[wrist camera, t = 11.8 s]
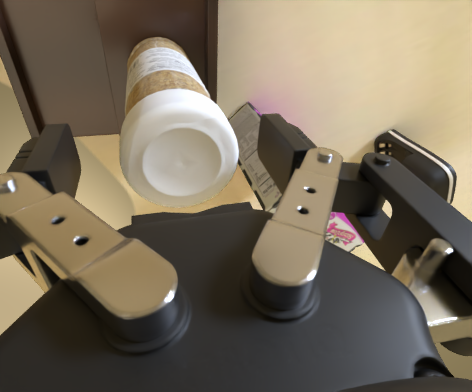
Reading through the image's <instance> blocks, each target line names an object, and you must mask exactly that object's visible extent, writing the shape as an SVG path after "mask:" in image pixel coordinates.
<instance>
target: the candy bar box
mask: <svg viewBox="0 0 472 392" xmlns="http://www.w3.org/2000/svg"><path fill="white" fill-rule="evenodd" d="M261 116H262V115H261V114H260V113H259V112H258V111H257V110H256V109H255V108H254V107H253V106H252V105H251V104H250V103H249V102H247V103H246V104H245V105H244V106H243V107H241V109H240V110H239V111H238V112H237V113H236V114H235V115H234V116H233V117H232V118H231V119H229V120H228V122H229V124H230V125H231V127H232V129H233V131H234V134H235V136H236V139H237V143H238V150H239V155H238V164H239V166H240V168H241V170H242V172H243V173H244V175H245V177H246V179H247V181H248V183H249V185H250V186H251V188H252V190H253V192H254V194H255V195H256V197H257V199H258V201H259V203H260V205H261V206H262V208H263V210H264V211H268V212H271V213H274V212H275V210H276V208H277V206H278V204H279V202H280V200H281V198H282V194H281V192H280V191H279V189H278V188H277V186H276V185H275V183H274V181H273V180H272V178H271V177H270V175H269V173H268V172H267V170H266V169H265V167H264V166H263V164H262V162H261V161H260V159H259V157H258V153H257V143H258V134H259V125H260V118H261ZM325 236H326V237H325V240H327V241H329V242H331V243H333V244H335V245H337V246H338V247H340V248H342V249H344V250H346V251H348V252H351V251H353V250H354V249H355V247H358V246H360V245H362V244H363V243H364V241H363V239H362V238H361V237H360V235H359V234H358V233H357V231H356V230H355V229H354V227H353V226H352V224H351V223H350V222H349V220H348V219H347V218H346V216H345V214H344V213H337V212H331V214H330V218H329V222H328V226H327V231H326V235H325Z"/></svg>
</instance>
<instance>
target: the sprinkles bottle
mask: <svg viewBox="0 0 472 392" xmlns="http://www.w3.org/2000/svg"><path fill="white" fill-rule="evenodd" d="M127 73H128V75H127V85H126V102H125V117H126V118H125V120H124V122H123V125H122V128H121V133H120V165H121V169H122V172H123V175H124V177H125V179H126V181H127V182H128V183H129V185H130V186H131V187H132V188H133V190H134V191H135V192H136V193H138V194H139V195H140V196H141V197H143V198H145V199H146V200H148V201H150V202H152V203H155V204H158V205H161V206H166V207H176V208H179V207H188V206H193V205H197V204H200V203H202V202H205V201H207V200H209V199H211V198H212V197H214V196H215V195H217V194H218V193H219V192H220V191H222V190H223V188H224V187H225V186H226V185H227V184H228V183H229V181H230V180H231V178H232V176H233V174H234V172H235V170H236V167H237V163H238V155H239V150H238V143H237V139H236V136H235V134H234V131H233V129H232V127H231V125H230V124H229V122H228V120H227V118H226V117H225V115H224V114H223V112H222V111H221V109H220V108H219V107H218V106H217V105H216V104H215V103H214V102H213V101H212V100H211V99H210V95H209V93H208V91H207V90H206V88H205V86H204V85H203V83H202V81H201V79H200V78H199V76H198V74H197V73H196V71H195V69H194V67H193V66H192V64H191V63H190V60H189V58H188V56H187V54H186V53H185V51H184V50H183V49H182V47H180V46H179V45H177V44H176V43H175V42H173V41H171V40H169V39H167V38H162V37H153V38H148V39H145V40H143V41H142V42H140V43H138V44H137V45H136V46H135V47H134V49H133V51H132V52H131V54H130V57H129V59H128V63H127Z"/></svg>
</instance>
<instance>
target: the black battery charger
mask: <svg viewBox="0 0 472 392" xmlns="http://www.w3.org/2000/svg"><path fill="white" fill-rule="evenodd" d="M375 153H381V154H385V155H388V156H391V157H393V158H394V159H396V160H397V161H399V162H400V163H401V164H402V165H403V166H405V167H406V168H407V169H408V170H409V171H411V172H412V173H413V174H414V175H415V176H417V177H418V178H419V179H420V180H421V181H423V182H424V183H425V184H426V185H427V186H429V187H430V188H431V189H432V190H433V191H435V192H436V193H437V194H438V195H439V196H441V197H442V198H443V199H444V200H446V201H447V202H448V203H449V204H451V203H452V201H453V198H454V193H455V187H456V180H457V176H456V172H455V170H454V169H453V168H452V166H451V165H450V164H448V163H447V162H446V161H444V160H443V159H441V158H440V157H438V156H437V155H435V154H434V153H432V152H430V151H429V150H427V149H425V148H424V147H422V146H420V145H419V144H417V143H415V142H413V141H412V140H410V139H408V138H407V137H405V136H403V135H402V134H400V133H399V132H397V131H396V130H394V129H393V130H389V131H387V132H386V133H384V134H382V135H381V136H379V137H378V138H377V139H376V141H375Z"/></svg>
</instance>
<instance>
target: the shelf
mask: <svg viewBox="0 0 472 392" xmlns="http://www.w3.org/2000/svg"><path fill="white" fill-rule="evenodd" d="M153 37H162V38H167V39H169V40H171V41H173V42H175V43H176V44H177V45H179V46H180V47H182V49H183V50H184V51H185V53H186V54H187V56H188V58H189V60H190V63H191V64H192V66H193V67H194V69H195V71H196V73H197V74H198V76H199V78H200V79H201V81H202V83H203V85H204V86H205V88H206V90H207V91H208V93H209V95H210V99H211V100H212V101H213V102H214V103H215V104H216V105H217V44H218V0H0V56H1V59H2V61H3V64H4V67H5V69H6V72H7V75H8V77H9V80H10V82H11V85H12V88H13V90H14V93H15V95H16V98H17V100H18V103H19V106H20V109H21V111H22V114H23V117H24V119H25V122H26V124H27V127H28V129H29V132H30V135H31V138H34V137H40V135H41V133H42V131H43V129H44V127H45V125H46V124H64V123H67V124H69V126H70V128H71V131H72V135H73V137H78V136H94V135H111V134H119V135H120V133H121V128H122V125H123V122H124V120H125V118H126V117H125V102H126V85H127V75H128V73H127V63H128V59H129V57H130V54H131V52H132V51H133V49H134V47H135V46H136V45H137V44H138V43H140V42H142V41H143V40H145V39H148V38H153Z"/></svg>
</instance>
